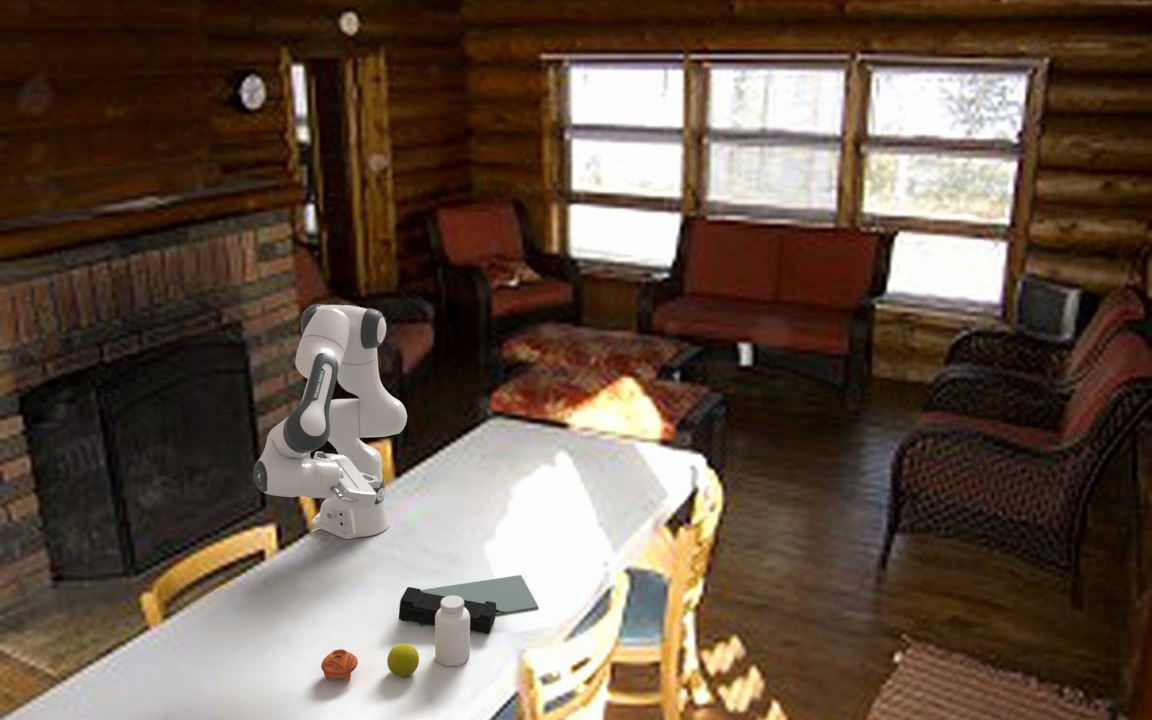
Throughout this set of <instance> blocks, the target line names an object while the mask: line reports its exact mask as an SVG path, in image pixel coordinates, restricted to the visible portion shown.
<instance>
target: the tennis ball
mask: <svg viewBox="0 0 1152 720" xmlns="http://www.w3.org/2000/svg"><path fill="white" fill-rule="evenodd" d="M386 662H387V668H388V669H389V671H390V673H392V674H393V676H396V677H399V678H403V677H404V678H405V677H408V676H412V674H414V672H415V671H417V668H418V666H419V662H420V657H419V652H418V651H417V649H416V647H414V646H413V645H412V644H408V643H399V644H397V645H395V646H393V647H392V648H391V649H390V651H389V653H388V655H387V659H386Z"/></svg>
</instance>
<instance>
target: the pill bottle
mask: <svg viewBox="0 0 1152 720" xmlns="http://www.w3.org/2000/svg"><path fill="white" fill-rule="evenodd" d="M434 631H435V632H434V634H435V635H434V639H435V640H434V641H435V644H434V645H435V647H434V648H435V649H434V651H435V659H436V661H437V663H439V665H442V666H445V667H458V666H462V665H464V664H465V663H467V662H468V660H469V658H470V655H471V653H470V652H471V631H470V614H469V612H468V610H467V609H466V608H465V607H464V600H463V599H462V598H461V597H459V596H455V595H451V596H446V597H444V598H443V599H442V600H441V608H440V609H439V610H438V611H437V613H436V615H435V625H434Z"/></svg>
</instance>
